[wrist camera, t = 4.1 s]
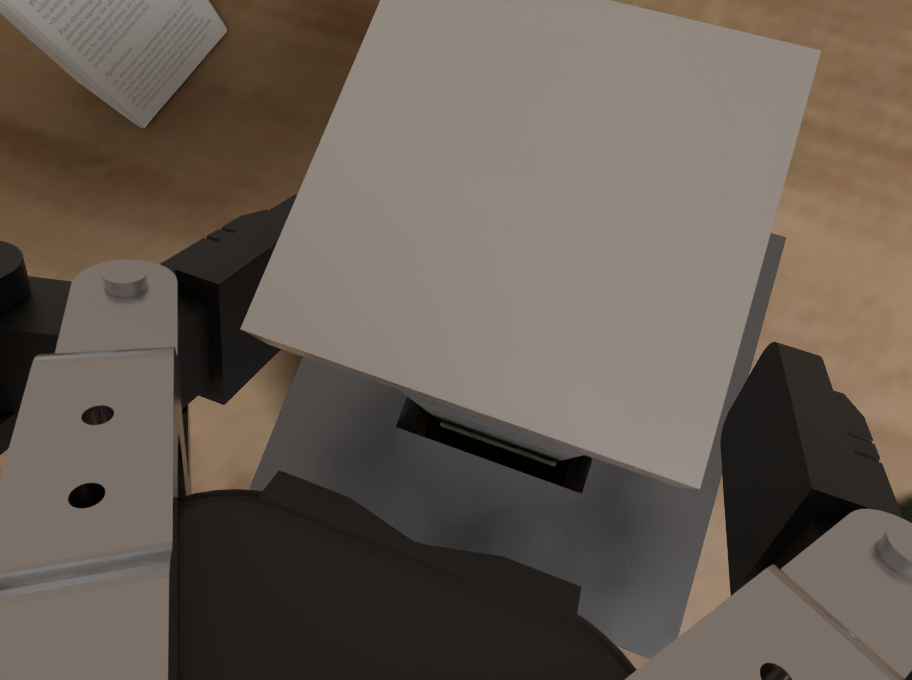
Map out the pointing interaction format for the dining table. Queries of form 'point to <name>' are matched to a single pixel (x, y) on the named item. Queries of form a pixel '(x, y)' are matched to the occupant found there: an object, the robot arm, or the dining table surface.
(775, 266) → the block
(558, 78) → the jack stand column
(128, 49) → the skincare box
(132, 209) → the dining table surface
